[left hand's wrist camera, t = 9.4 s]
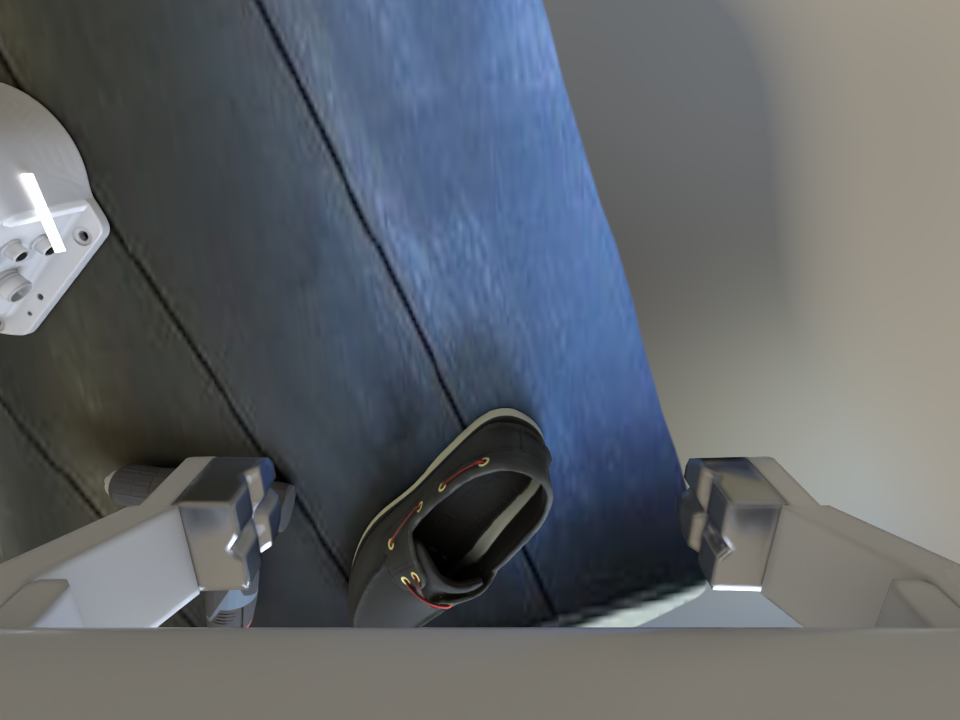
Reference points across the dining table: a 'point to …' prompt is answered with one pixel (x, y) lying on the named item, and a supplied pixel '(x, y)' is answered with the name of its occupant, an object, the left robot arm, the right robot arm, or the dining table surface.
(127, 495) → the power drill
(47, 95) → the dining table surface
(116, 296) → the dining table surface
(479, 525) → the boat shoe
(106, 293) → the dining table surface
